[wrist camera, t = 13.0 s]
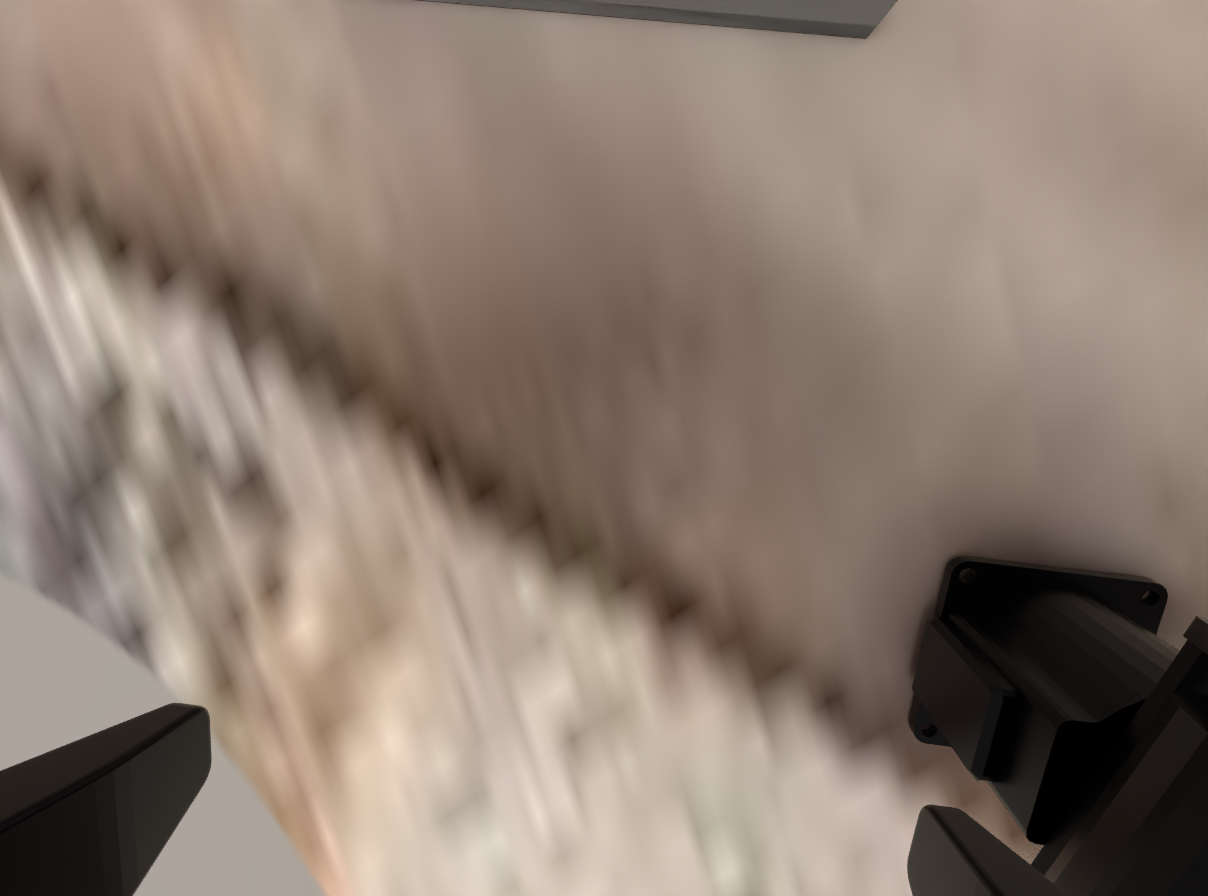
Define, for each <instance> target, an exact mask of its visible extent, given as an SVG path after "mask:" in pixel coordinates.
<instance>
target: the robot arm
mask: <svg viewBox="0 0 1208 896" xmlns="http://www.w3.org/2000/svg"><path fill="white" fill-rule="evenodd" d="M968 568H970V573H969V575H968V576H966V577H965V578H959V575H960V573H961V571H963V570H964V569H968ZM1147 591H1149V595H1148V596H1147V597H1146V598H1145V599H1143V600H1142V596H1143V594H1144V593H1146V592H1147ZM1167 598H1168V593H1167V591H1166V589H1165V588H1164V587H1163V586H1162V585H1160V584H1159V583H1157V582H1155V581H1153V580H1151V579H1148V578H1144V577H1136V576H1127V575H1119V574H1111V573H1102V572H1094V571H1086V570H1077V569H1069V568H1060V567H1052V566H1044V565H1035V564H1027V563H1019V562H1010V561H1002V560H994V559H985V558H977V557H969V556H959V557H956V558H954V559H952V560H951V561H950V562H949V563H948V565H947V567H946V569H945V573H944V578H943V582H942V586H941V590H940V594H939V599H938V603H937V607H936V611H935V615H934V617H933V618H932V619H931V620H930V621H929V622H928V623H927V627H926V631H925V635H924V639H923V644H922V648H921V652H920V656H919V660H918V665H917V669H916V673H915V677H914V681H913V686H912V688H913V691H914V692H915V699H914V703H913V707H912V711H911V715H910V720H909V726H910V728H911V730H912V732H913V734H914V735H915V737H916V738H917V739H918V740H919V741H920V742H923V743H927V744H934V745H942V746H949V747H952V748H953V749H954V751H955V752H956V754H957V755H958V756H959V758H960V759H961V761H962V762H963V764H964V765H965V767H966V768H967V770H968V771H969V772H970V774H971V775H972V776H973V777H974V778H975V779H976V780H977V781H984V782H988V784H989V785H990V786H991V788H992V789H993V791H994V792H995V793H996V795H997V796H998V798H999V799H1000V800H1001V802H1002V803H1003V805H1004V806H1005V808H1006V809H1007V810H1008V812H1009V813H1010V815H1011V816H1012V817H1013V819H1014V820H1015V822H1016V823H1017V824H1018V826H1019V827H1020V829H1021V830H1022V832H1023V833H1024V834H1025V836H1026V837H1027V838H1028V840H1029V841H1030V842H1033V843H1035V844H1041V845H1044V846H1043V848H1042V849H1041V851H1040V852H1039V854H1038V855H1037V857H1036V858H1035V859H1034V861H1033V862H1032V864H1031V865H1030V864H1029V863H1028V862H1026V861H1025V860H1024V859H1022V858H1021V857H1020V856H1019V855H1017V854H1016V853H1015V852H1014V851H1012V850H1011V849H1010V848H1009V847H1007V846H1006V845H1005V844H1004V843H1002V842H1001V841H1000V840H999V839H997V838H996V837H995V836H994V835H992V834H991V833H990V832H989V831H987V830H986V829H985V828H984V827H982V826H981V825H980V824H979V823H977V822H976V821H975V820H974V819H972V818H971V817H970V816H968V815H967V814H966V813H965V812H963V811H962V810H960V809H957V808H952V807H944V806H937V805H926V806H924V807H923V808H922V809H921V811H920V813H919V816H918V820H917V824H916V828H915V832H914V836H913V840H912V844H911V848H910V852H909V856H908V864H907V870H908V879H909V884H910V887H911V891H912V895H913V896H1208V620H1206V619H1204V618H1201V617H1198V616H1196V618H1195V619H1194V621H1193V622H1192V623H1191V625H1190V626H1189V628H1188V629H1187V631H1186V632H1185V634H1184V635H1183V636H1184V637H1185V638H1187V639H1188V640H1187V641H1186V643H1185V644H1184V646H1183V647H1182V649H1181V650H1180V651H1179V650H1177V649H1176V648H1174V647H1173V646H1171V645H1170V644H1168V643H1167V642H1165V641H1164V640H1162V639H1161V638H1159V637H1157V636H1156V633H1157V630H1158V627H1159V624H1160V621H1161V618H1162V615H1163V612H1164V609H1165V606H1166V603H1167ZM930 723H931V724H932V725H931V727H929V728H928V729H922V727H923V726H924V725H926V724H930ZM210 768H211V735H210V717H209V713H208V711H207V709H206V708H204V707H202V706H198V705H190V704H183V703H172V704H168V705H165V706H163V707H160V708H158V709H155V710H153V711H150V712H148V713H145V714H143V715H140V716H138V717H135V718H133V719H130V720H128V721H125V722H123V723H120V724H118V725H115V726H113V727H110V728H107V729H105V730H102V731H100V732H98V733H95V734H92V735H90V736H87V737H85V738H82V739H80V740H77V741H75V742H72V743H70V744H67V745H65V746H62V747H60V748H57V749H55V750H52V751H49V752H47V753H44V754H42V755H40V756H37V757H34V758H32V759H29V760H27V761H24V762H22V763H20V764H17V765H15V766H12V767H9V768H7V769H4V770H2V771H0V896H133V895H134V893H135V892H136V890H137V889H138V887H139V885H140V884H141V882H142V881H143V879H144V878H145V876H146V874H147V873H148V871H149V870H150V868H151V866H152V865H153V863H154V862H155V860H156V859H157V857H158V856H159V854H160V853H161V851H162V849H163V848H164V846H165V845H166V843H167V842H168V840H169V838H170V837H171V835H172V834H173V832H174V831H175V829H176V827H177V826H178V824H179V823H180V821H181V820H182V818H183V816H184V815H185V813H186V812H187V810H188V808H189V807H190V805H191V804H192V802H193V801H194V799H195V798H196V796H197V794H198V793H199V791H200V790H201V788H202V787H203V785H204V783H205V781H206V779H207V777H208V774H209V771H210Z"/></svg>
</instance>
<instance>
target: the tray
mask: <svg viewBox="0 0 1208 896" xmlns="http://www.w3.org/2000/svg"><path fill="white" fill-rule="evenodd" d="M424 1H436V2H448V3H460V4H471V5H483V6H495V7H506V8H518V9H530V10H541V11H553V12H565V13H576V14H588V15H600V16H611V17H623V18H635V19H646V20H658V21H670V22H681V23H693V24H705V25H716V26H728V27H740V28H751V29H763V30H775V31H787V32H798V33H810V34H822V35H833V36H845V37H857V38H867V37H868V36H869V35H870V33H871V32H872V31H873V30H874V28H875V27H876V26H877V25H878V24H879V22H880V21H881V20H882V19H883V18H884V16H885V15H886V14H887V13H888V11H889V10H890V9H891V8H892V7H893V5H894V4H895V3H896V2H897V0H424Z"/></svg>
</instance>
